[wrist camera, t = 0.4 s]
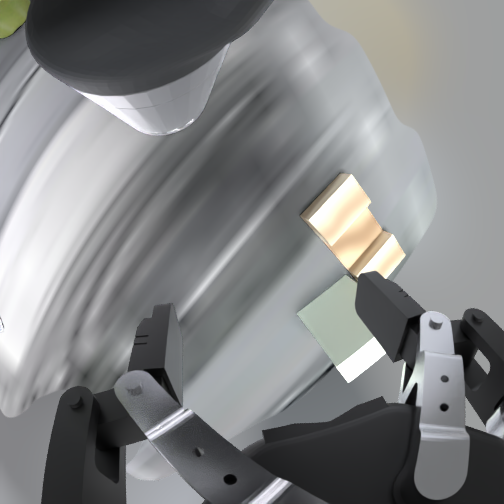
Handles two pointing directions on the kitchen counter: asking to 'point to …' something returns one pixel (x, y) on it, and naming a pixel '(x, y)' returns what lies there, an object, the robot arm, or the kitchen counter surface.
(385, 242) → the slot board
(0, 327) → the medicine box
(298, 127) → the kitchen counter surface
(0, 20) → the plant pot
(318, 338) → the tall mint green pillar
